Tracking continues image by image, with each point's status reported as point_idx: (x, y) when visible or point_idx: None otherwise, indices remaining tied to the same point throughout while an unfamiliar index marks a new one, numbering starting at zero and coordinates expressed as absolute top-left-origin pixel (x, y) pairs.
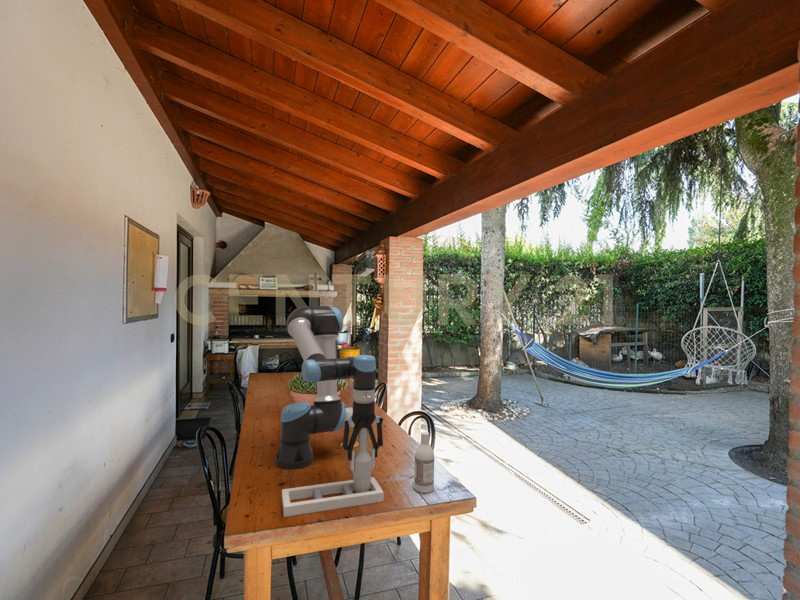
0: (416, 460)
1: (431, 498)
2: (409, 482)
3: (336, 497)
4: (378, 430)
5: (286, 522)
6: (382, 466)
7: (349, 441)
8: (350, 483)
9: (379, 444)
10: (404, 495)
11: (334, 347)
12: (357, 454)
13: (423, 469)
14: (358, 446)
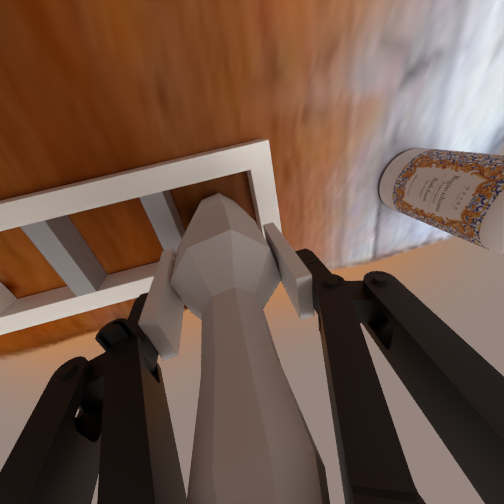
0: (470, 225)
1: (394, 231)
2: (386, 125)
3: (142, 286)
4: (461, 458)
5: (37, 332)
6: None
7: (104, 394)
8: (172, 188)
9: (363, 322)
10: (338, 214)
11: None
12: (198, 313)
13: (452, 234)
14: (202, 341)
